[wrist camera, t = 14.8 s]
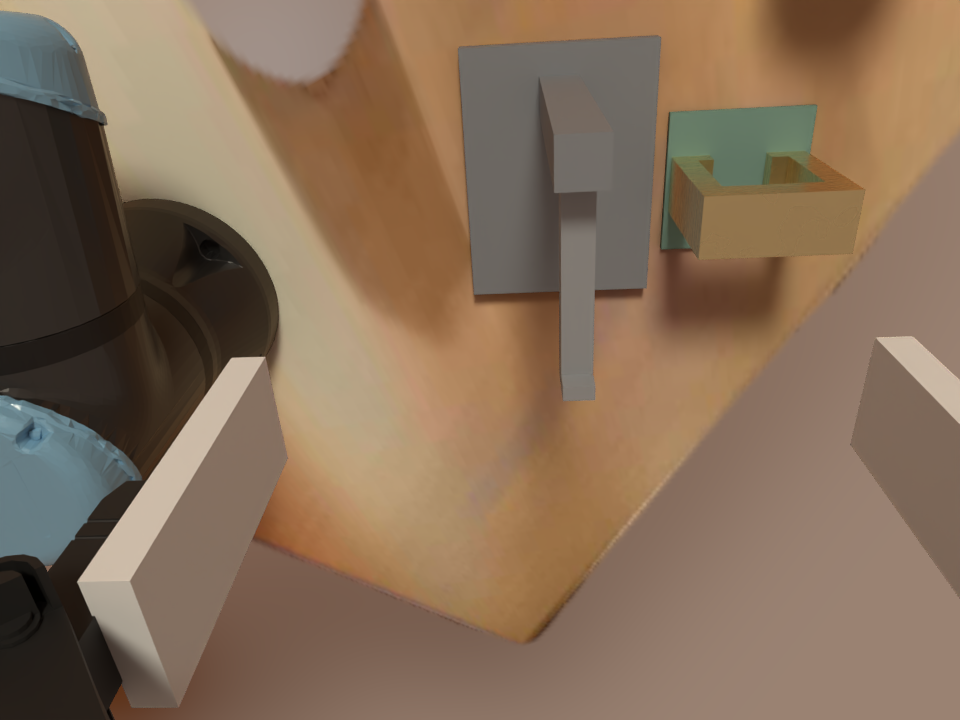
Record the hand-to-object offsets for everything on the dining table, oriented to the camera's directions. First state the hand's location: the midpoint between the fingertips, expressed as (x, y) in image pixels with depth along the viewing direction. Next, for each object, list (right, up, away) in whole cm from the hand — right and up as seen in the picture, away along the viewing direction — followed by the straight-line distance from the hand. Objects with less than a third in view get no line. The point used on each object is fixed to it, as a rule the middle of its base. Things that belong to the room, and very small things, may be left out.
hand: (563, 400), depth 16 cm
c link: (+15, +13, +32) cm, 37 cm away
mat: (+15, +13, +32) cm, 37 cm away
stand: (+3, +13, +32) cm, 35 cm away
